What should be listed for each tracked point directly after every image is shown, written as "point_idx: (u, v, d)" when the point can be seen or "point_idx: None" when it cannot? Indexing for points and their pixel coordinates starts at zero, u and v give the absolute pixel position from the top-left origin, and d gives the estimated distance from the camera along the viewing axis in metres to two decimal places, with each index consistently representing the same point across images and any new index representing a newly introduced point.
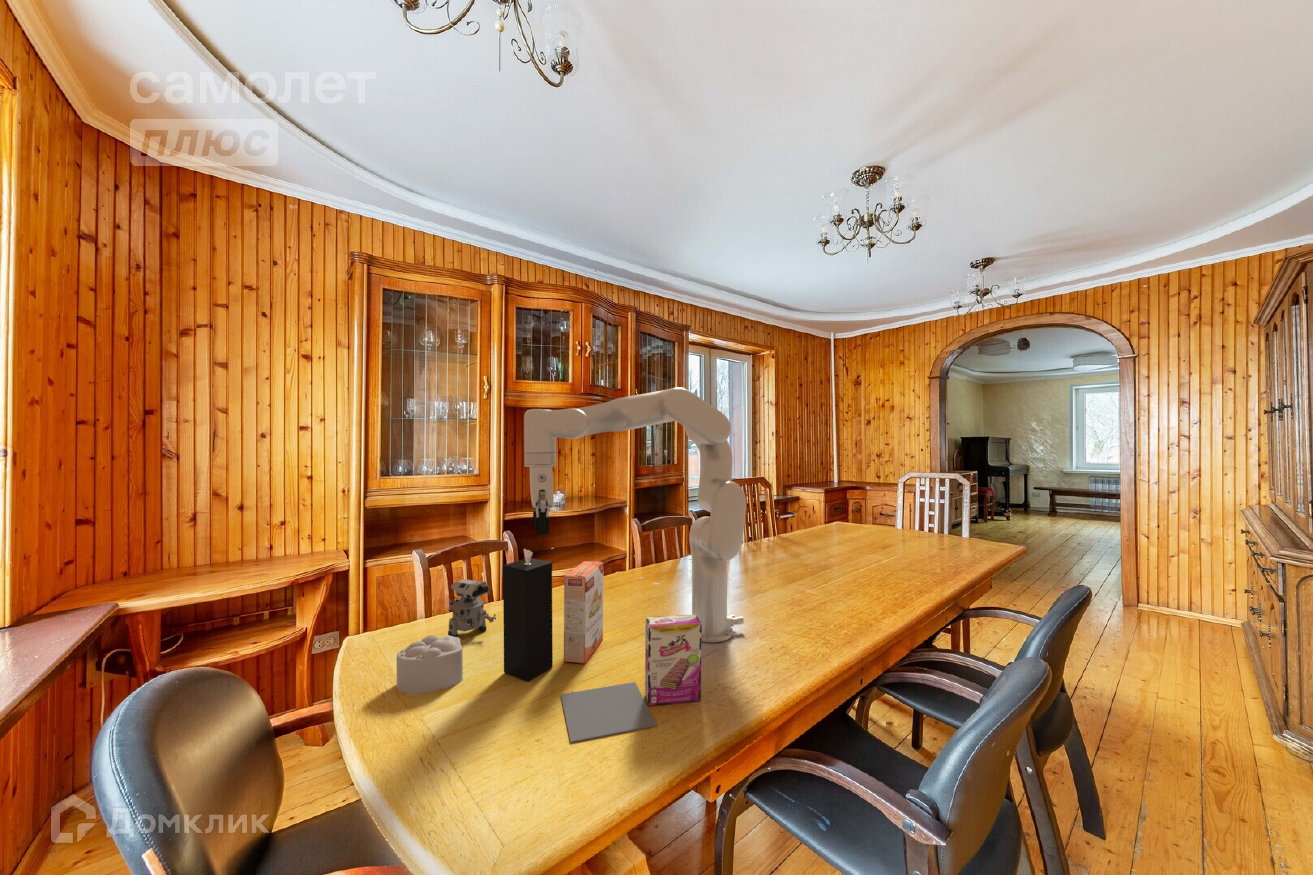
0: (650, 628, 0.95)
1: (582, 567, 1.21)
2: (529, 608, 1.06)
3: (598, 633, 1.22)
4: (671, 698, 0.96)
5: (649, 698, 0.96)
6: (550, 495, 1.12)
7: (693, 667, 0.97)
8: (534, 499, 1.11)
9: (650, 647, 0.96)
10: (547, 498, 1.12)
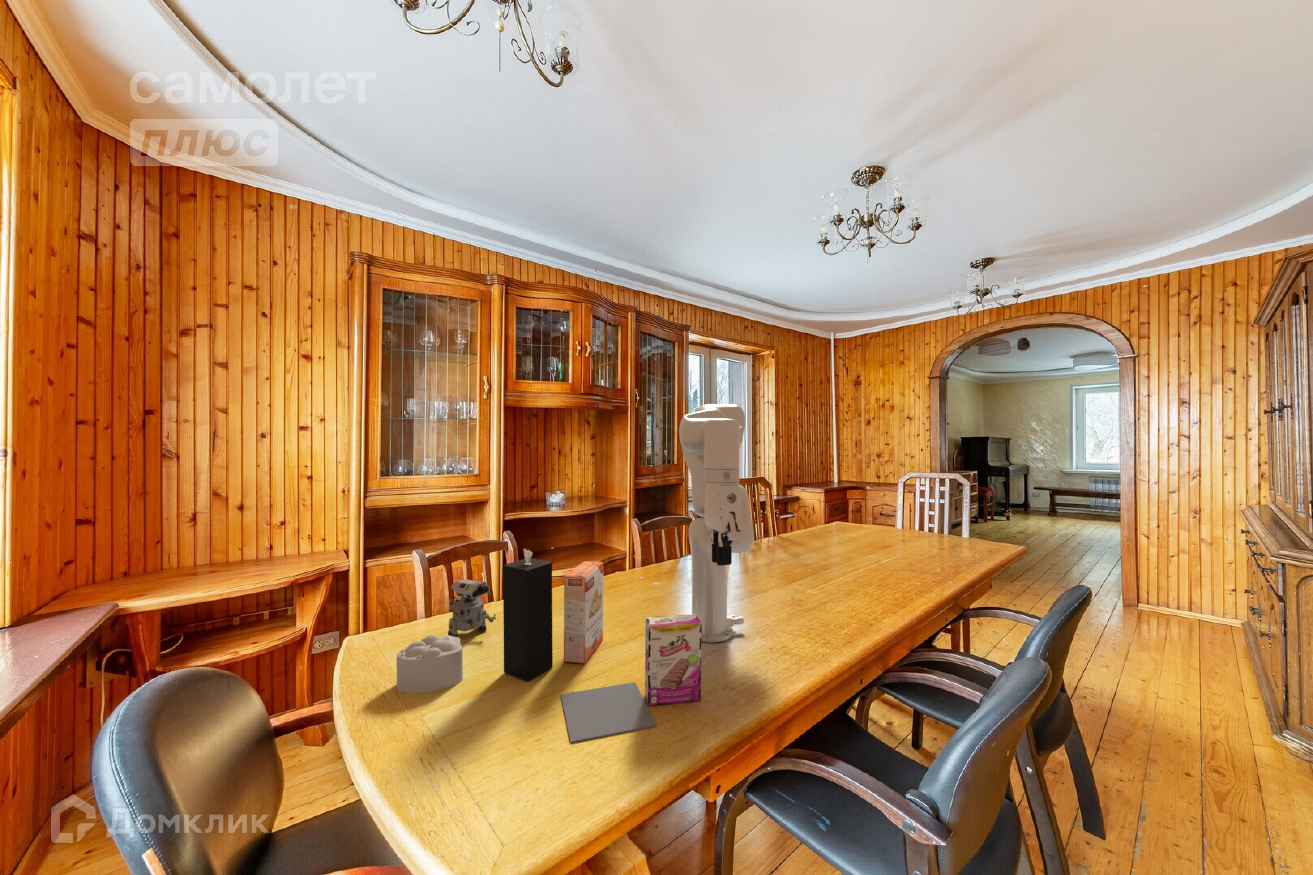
0: (650, 628, 0.95)
1: (582, 567, 1.21)
2: (529, 608, 1.06)
3: (598, 633, 1.22)
4: (671, 698, 0.96)
5: (649, 698, 0.96)
6: (740, 518, 0.97)
7: (693, 667, 0.97)
8: (724, 523, 0.97)
9: (650, 647, 0.96)
10: None
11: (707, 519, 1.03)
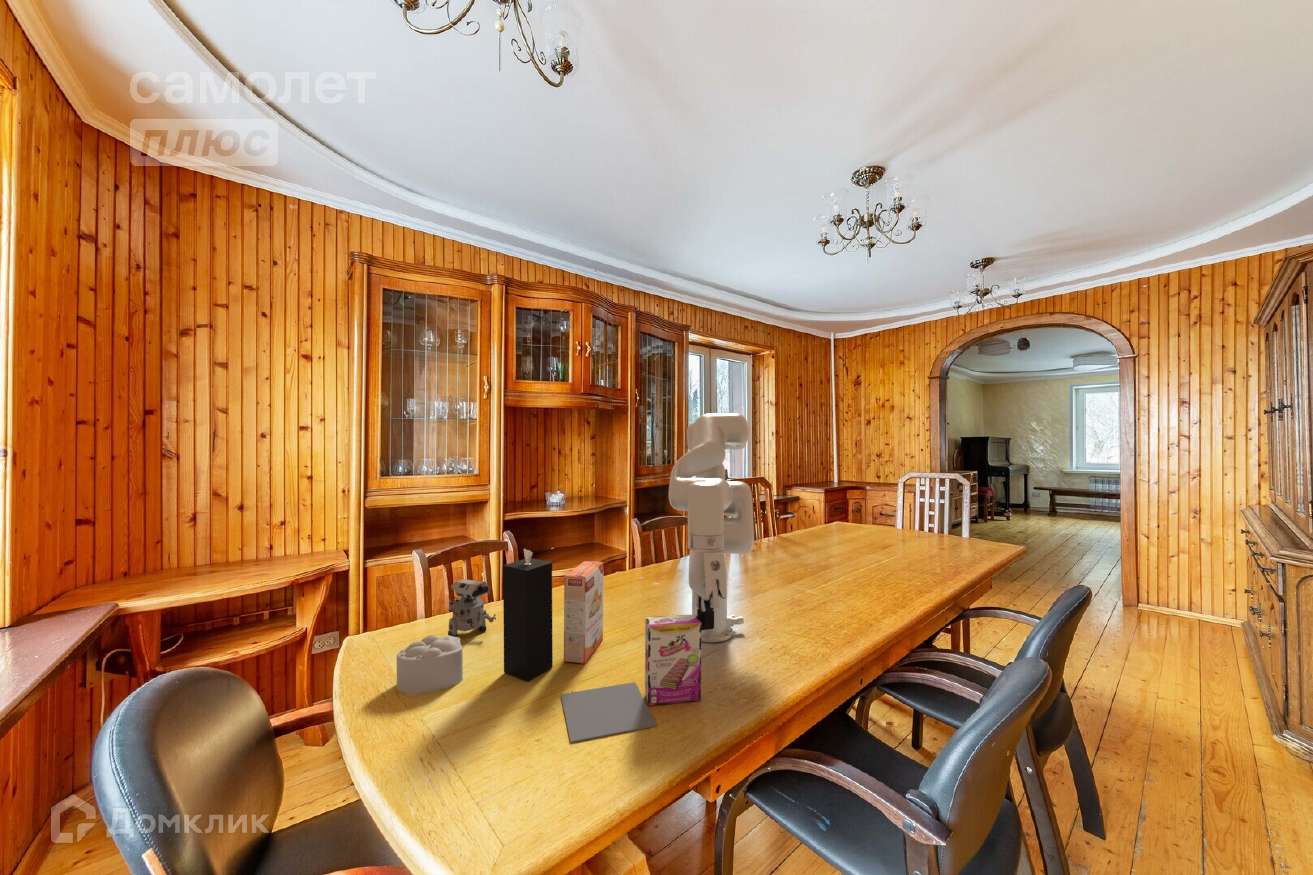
0: (650, 628, 0.95)
1: (582, 567, 1.21)
2: (529, 608, 1.06)
3: (598, 633, 1.22)
4: (671, 698, 0.96)
5: (649, 698, 0.96)
6: (724, 585, 0.97)
7: (693, 667, 0.97)
8: (707, 591, 0.96)
9: (650, 647, 0.96)
10: None
11: (691, 583, 1.02)
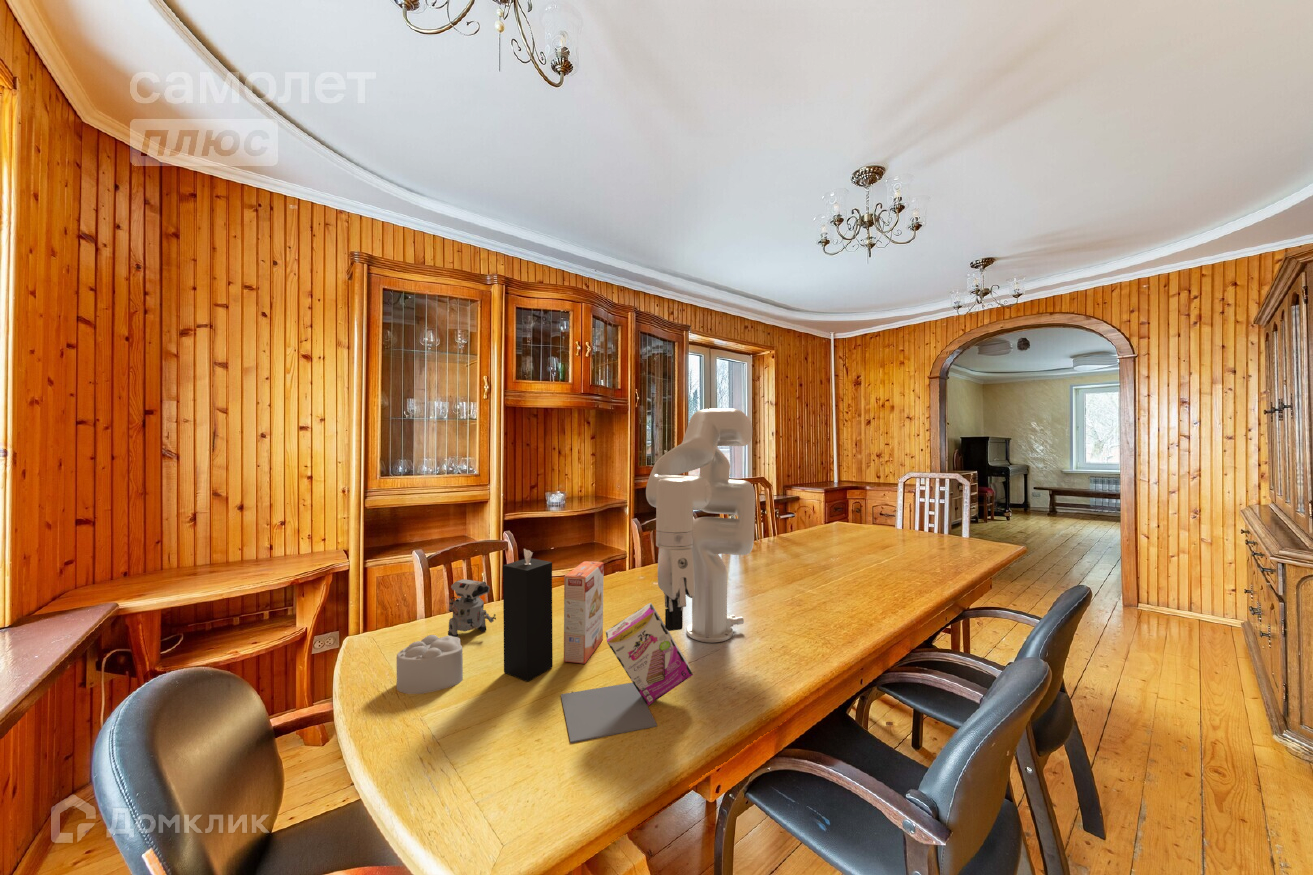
0: (609, 643, 0.93)
1: (582, 567, 1.21)
2: (529, 608, 1.06)
3: (598, 633, 1.22)
4: (665, 688, 0.96)
5: (645, 699, 0.96)
6: (692, 584, 0.94)
7: (669, 652, 0.96)
8: (674, 589, 0.93)
9: (619, 658, 0.94)
10: None
11: (660, 582, 1.00)
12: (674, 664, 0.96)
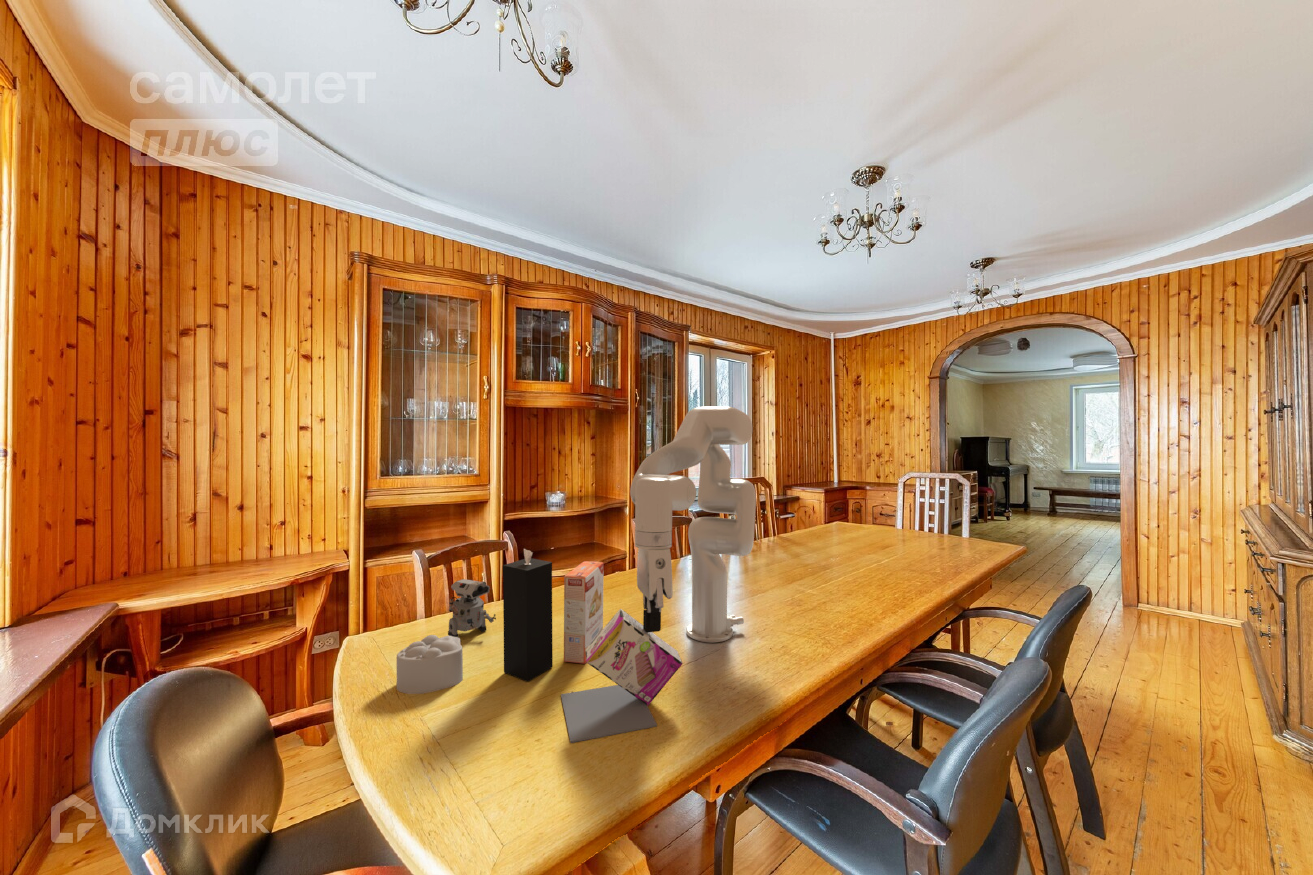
0: (589, 663, 0.92)
1: (582, 567, 1.21)
2: (529, 608, 1.06)
3: (598, 633, 1.22)
4: (659, 684, 0.96)
5: (643, 701, 0.95)
6: (669, 585, 0.92)
7: (651, 651, 0.95)
8: (651, 590, 0.91)
9: (604, 673, 0.93)
10: None
11: (638, 582, 0.98)
12: (660, 660, 0.95)
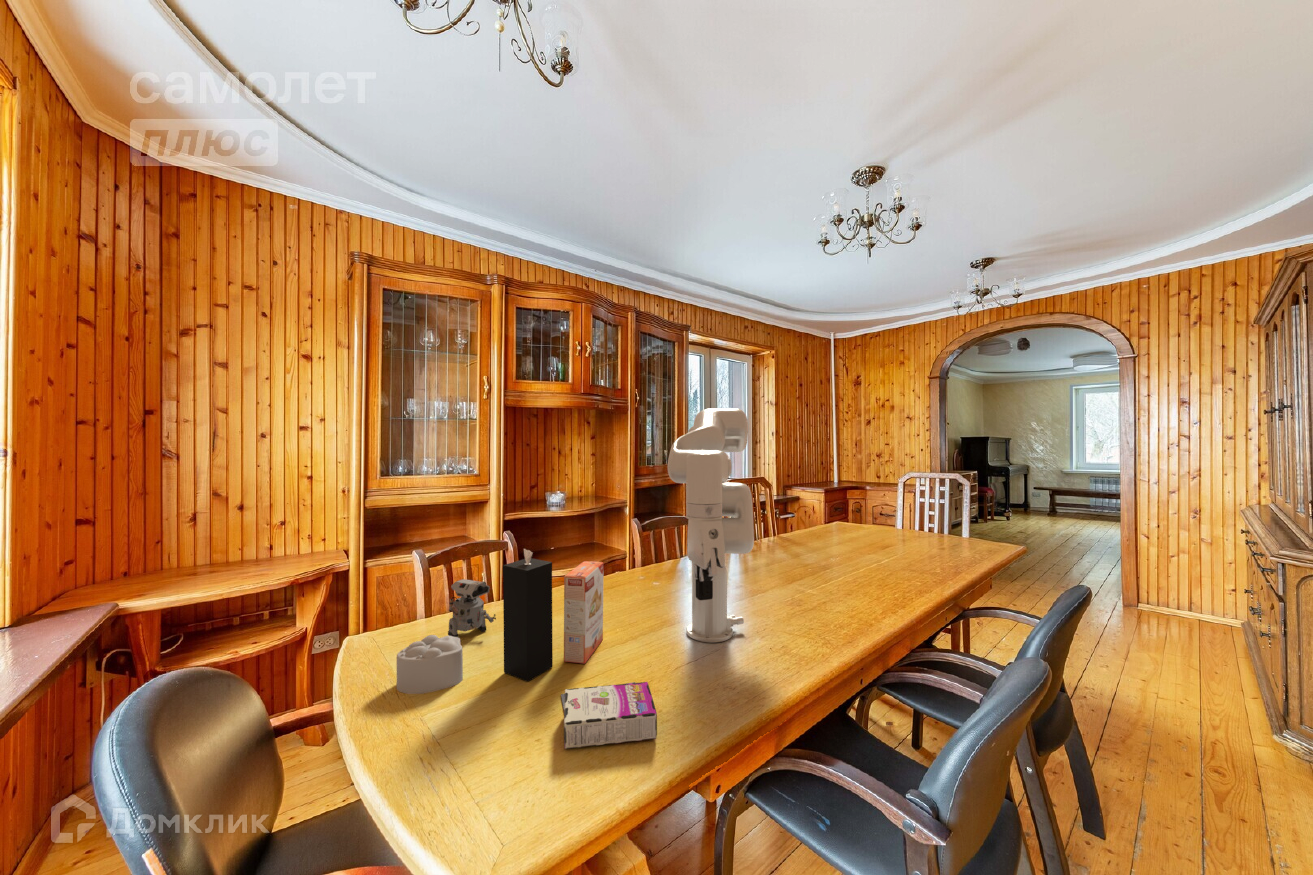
0: None
1: (582, 567, 1.21)
2: (529, 608, 1.06)
3: (598, 633, 1.22)
4: None
5: None
6: (722, 554, 0.96)
7: None
8: (705, 559, 0.95)
9: None
10: None
11: (690, 553, 1.02)
12: None
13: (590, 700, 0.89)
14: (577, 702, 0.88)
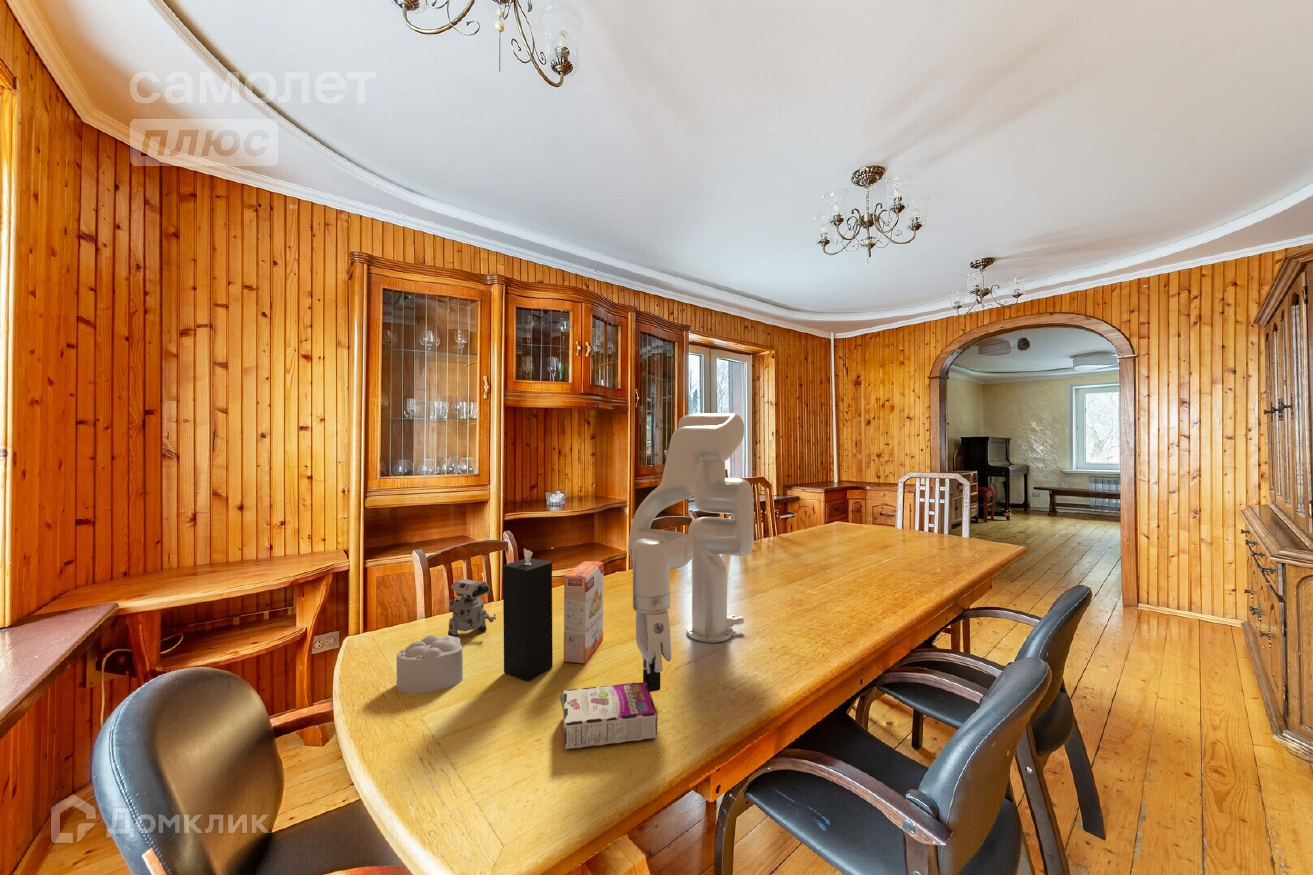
0: None
1: (582, 567, 1.21)
2: (529, 608, 1.06)
3: (598, 633, 1.22)
4: None
5: None
6: (668, 648, 0.93)
7: None
8: (650, 655, 0.92)
9: None
10: None
11: (637, 642, 0.99)
12: None
13: (589, 701, 0.88)
14: (576, 703, 0.88)
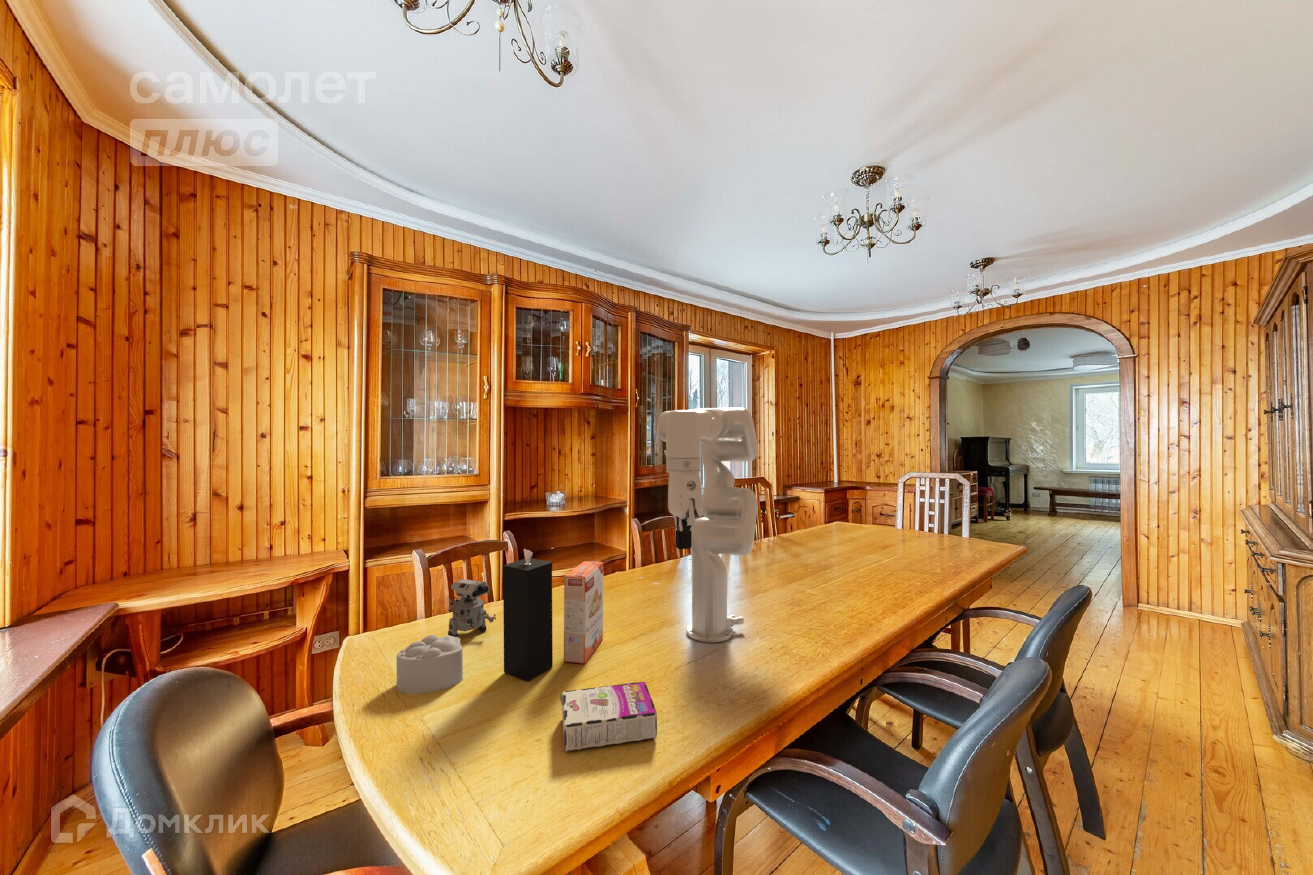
0: None
1: (582, 567, 1.21)
2: (529, 608, 1.06)
3: (598, 633, 1.22)
4: None
5: None
6: (700, 504, 1.02)
7: None
8: (683, 509, 1.01)
9: None
10: None
11: (670, 506, 1.08)
12: None
13: (589, 702, 0.88)
14: (576, 704, 0.87)
